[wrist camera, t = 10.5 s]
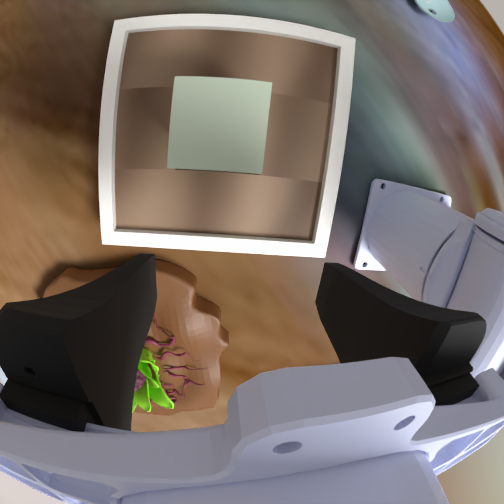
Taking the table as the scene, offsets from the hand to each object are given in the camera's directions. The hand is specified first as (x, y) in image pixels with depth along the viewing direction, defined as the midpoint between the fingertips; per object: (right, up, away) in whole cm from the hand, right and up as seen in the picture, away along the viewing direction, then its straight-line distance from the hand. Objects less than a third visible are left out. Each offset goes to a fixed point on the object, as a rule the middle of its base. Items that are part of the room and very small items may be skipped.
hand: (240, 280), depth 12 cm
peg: (-2, +10, +6) cm, 11 cm away
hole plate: (-2, +10, +7) cm, 12 cm away
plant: (-12, -8, +15) cm, 21 cm away
